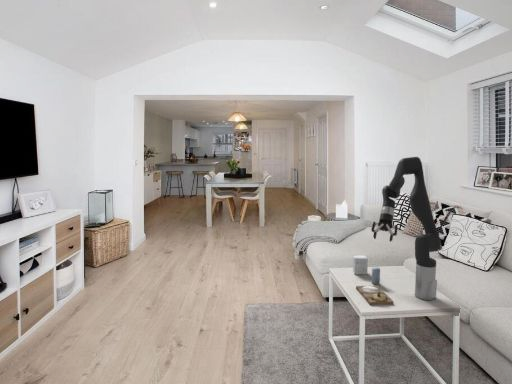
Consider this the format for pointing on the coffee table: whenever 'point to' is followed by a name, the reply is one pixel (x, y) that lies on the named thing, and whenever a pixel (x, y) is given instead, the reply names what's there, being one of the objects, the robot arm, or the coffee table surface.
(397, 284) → the coffee table surface
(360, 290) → the gear board
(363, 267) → the small box
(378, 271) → the blue-grey cylinder
